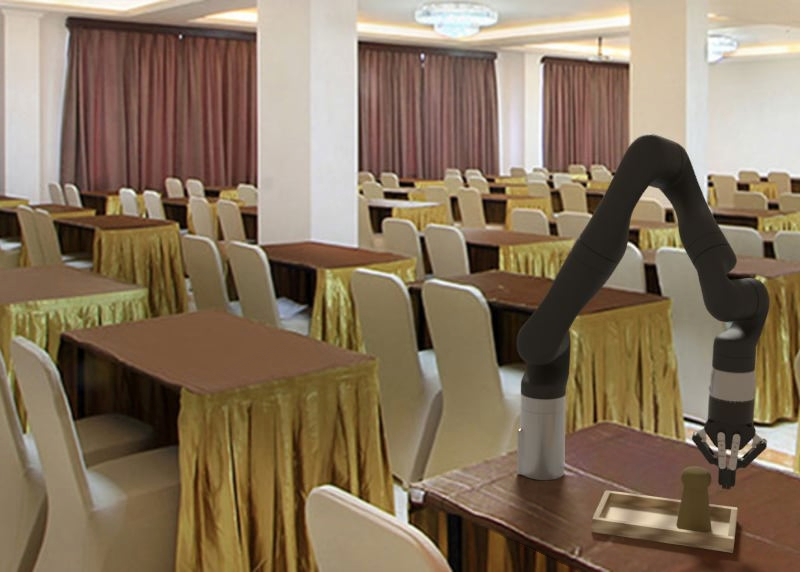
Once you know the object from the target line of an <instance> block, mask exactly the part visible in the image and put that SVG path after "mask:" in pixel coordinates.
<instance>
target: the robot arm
mask: <svg viewBox="0 0 800 572" xmlns="http://www.w3.org/2000/svg"><path fill="white" fill-rule="evenodd" d="M648 187H652V188H655V189H658V190H660V191H661V193H662V194H663V195H664V196H665V198H666V199H667V200H668V202H669V203H670V204H671V205H672V208H673V210H674V211H675V215H676V219H677V226H678V227H677V228H678V229H677V230H678V233H679V239H680V242H681V244H682V246H683V248H684V250H685V253H686V254H687V256H688V259H689V260H690V261H691V263H692V265H693V267H694V269H695V270H696V272H697V276H698V277H697V278H698V283H699V286H700V290H701V294H702V300H703V303H704V306H705V309H706V311H707V312H708V313H709V315H711V316H712V318H713V319H715V320H717V321H719V322H723V323H731V325H730V327H729V328H728V329H727V330H725V331H723V332H721V333H719V334H717V335H716V336H715V337H714V340H713V343H712V345H713V346H712V358H711V360H712V363H711V372H710V376H709V385H708V405H707V407H708V409H707V420H706V421H705V423H704V426H703V428H702V429H700V430H698V431H697V430H694V431H693V433H692V435H691V441H692V442H693V443H694V444H695V446H696V447H697V449H698V450H699V452H700V453H701V454H702V455H703V456H704V457H703V458H705V460H706V461H707V462H708V464H710V465H714V466H716V467H717V468H718V477H717V483H718V485H719V486H721V489H723V490H731V488H734V487H735V485H736V481H737V479H736V478H737V470H738V469H741V468H742V469H746V468H747V467H748V466H749V465H750V464H751V463H752V462H754V461H755V460H756V459H757V457H759V456H760V455H761V454H762V453H763V452H764V451H765V450H766V449H767V446H768V444H767V443H768V440H767V439H766V438H762V437H761V436H759V435H758V434H757V433H756V432H757V431H756V426H755V425H754V416H755V415H754V413H755V401H756V399H755V398H756V388H757V387H756V385H757V384H756V382H757V381H756V356H757V346H758V344H759V340H760V338H761V336H762V332H763V329H764V326H765V323H766V321H767V317H768V314H769V310H770V302H771V301H770V294H769V291H768V288H767V287H766V285H765V284H764V282H762V281H761V280H760V279H757V278H753V277H752V278H751V277H748V278H739V279H738V278H737V279H730V278H729V277H728V274H729V273H731V272H732V271H733V270H734V269H735V267H736V266H737V263H738V262H737V260H738V259H737V256H736V253H735V251H734V249H733V248H732V247H731V243H729V241H728V239H727V237H726V236H725V234H724V232H723V231H722V229H721V228H720V226H719V224H718V222H717V220H716V219H715V217H714V214H713V213H712V211H711V209H710V207H709V204H708V203H707V201H706V198H705V196H704V193H703V191H702V188H701V186H700V183H699V180H698V178H697V176H696V172H695V169H694V167H693V163H692V161H691V159H690V156H689V154H688V152H687V151H686V149H685V148H684V147H683V145H681V144H680V143H679V142H676V141H674V140H671V139H669V138H667V137H663V136H662V135H657V134H654V133H645V134H642V135H640V136H638V137H637V138H635V139H634V141H632V142H631V143H630V145H629V146H628V148H627V149H626V151H625V152H624V154H623V156H622V159H621V160H620V162H619V164H618V167H617V169H616V170H615V173H614V175H613V177H612V179H611V180H610V184H609V185H608V187H607V189H606V191H605V192H604V195H603V197H602V198H601V200H600V202H599V203H598V205H597V207H596V209H595V211H594V213H593V214H592V216H591V218H590V219H589V221H588V222H587V224H586V226H585V227H584V228H583V230H582V232H581V233H580V234H579V236H578V238H577V239H576V241H575V243H574V244H573V246H572V248H570V251H569V253H568V254H567V256H566V258H565V260H564V262H563V263H562V265H561V267H560V269H559V270H558V273H557V274H556V275H555V278H554V280H553V281H552V284H551V286H550V288H549V290H548V292H547V293H546V294H545V297H544V298H543V299H542V301H541V303H540V304H538V306H537V308H536V309H535V310H534V312H533V313H532V315H531V316H530V317H529V318H528V319H527V320H526V321H525V323H524V324H523V325H522V327H521V328H520V329H519V331H518V332H517V333H518V334H517V337H516V349H517V352H518V355H519V357H520V358H521V360H522V361H524V362H525V363H526V365H525V369H524V372H523V375H522V377H521V380H520V418H519V421H520V423H519V424H520V426H519V428H518V430H517V440H516V441H517V444H516V445H517V448H516V449H517V451H516V452H517V453H516V458H517V459H516V461H517V462H516V474H517V475H522V476H523V477H526V478H528V479H531V480H538V481H550V480H556V479H560V478H561V477H563V476H564V475H565V454H566V453H565V452H566V451H565V449H566V447H565V445H566V401H567V400H566V399H567V397H566V396H567V385H568V382H569V381H568V380H569V377H570V367H571V366H570V365H571V363H570V362H571V349H572V348H571V347H572V346H571V345H572V344H571V342H572V340H571V333H570V328H571V327H572V325H573V323H574V321H575V320H576V318H577V317H578V316H579V314H580V313H581V312H582V310H583V309H585V307H586V306H587V305H588V304H589V303H590V302H591V301H592V299H593V298H594V297H595V296H596V295H597V294H598V293H599V292H600V290H602V288H603V287H604V286H605V285H606V283H607V282H608V280H609V279H610V278H611V277H612V275H613V273H614V272H615V270H616V269H617V267H618V266H619V264H620V262H621V261H622V259H623V258H624V256H625V254H626V251H627V248H628V245H629V244H628V243H629V235H630V227H631V226H630V225H631V219H632V215H633V213H634V210H635V208H636V206H637V205H638V203H639V201H640V199H641V198H642V196H643V194H644V193H645V192H646V190H647V189H648ZM707 436H708V437H707ZM708 438H709V439H710V441H711V442H712V444H713V446H715V448H717V455H716V453H715V452H714V450H713V449H712V448H711V447H710V445H709V444H708V443H707V440H708ZM750 442H751V448H750V449H749V450H748V451H747V452H746V453H744V454H743V456H742V457H740V458H738V457H739V451H741V450H743V449H744V448H745V447H746V446H747V445H748V444H749V443H750ZM727 450H729V451H730V453H729V455H730V456H729V463H727Z"/></svg>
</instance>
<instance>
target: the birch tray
mask: <svg viewBox="0 0 800 572" xmlns="http://www.w3.org/2000/svg"><path fill="white" fill-rule="evenodd" d="M680 503H681V499H675V498H674V499H673V498H667V497H660V496H652V495H645V494H644V495H643V494H638V493H637V494H636V493H630V492H621V491H615V490H614V491H613V490H607V489H606V490H605V491H604V493H603V495H602V497H601V500H600V501H599V503H598V506H597V508H596V509H595V511H594V514H593V516H592V519H591V520H592V521H591V532H592V533H597V534H604V535H609V536H611V535H612V536H618V537H624V538H625V537H626V538H630V539H638V540H642V541H643V540H644V541H649V542H650V541H652V542H658V543H662V544H663V543H665V544H670V545H671V544H673V545H676V546H677V545H679V546H683V547H691V548H697V549H698V548H699V549H704V550H705V549H706V550H709V551H711V550H712V551H719V552H723V553H724V552H725V553H731V554H734V547H735V538H736V530H737V521H738V507H737V506H736V507H735V506H728V505H719V504H713V503H709V508H710V519H711V531H710V532H708V533H704V532H697V531H690V530H683V529H679V528H677V526H676V524H677V519H678V514H679V508H680Z"/></svg>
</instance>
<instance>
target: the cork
mask: <svg viewBox="0 0 800 572" xmlns="http://www.w3.org/2000/svg"><path fill="white" fill-rule="evenodd" d="M680 481H681V483H682V485H683V487H682V488H683V489H682V492H681V499H680V500H681V503H680V508H679V514H678V519H677V524H676V526H677V528H679V529H683V530H690V531H697V532H704V533H708V532H710V531H711V519H710V508H709V504H710V498H709V489H708V488H709V487H710V486H711V483H712V475H711V473H710V471H709V470H708V469H706V468H705V467H701V466H698V465H696V466H695V465H694V466H692V465H691V466H687V467H684V468H683V469H682V470H681V474H680Z"/></svg>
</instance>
